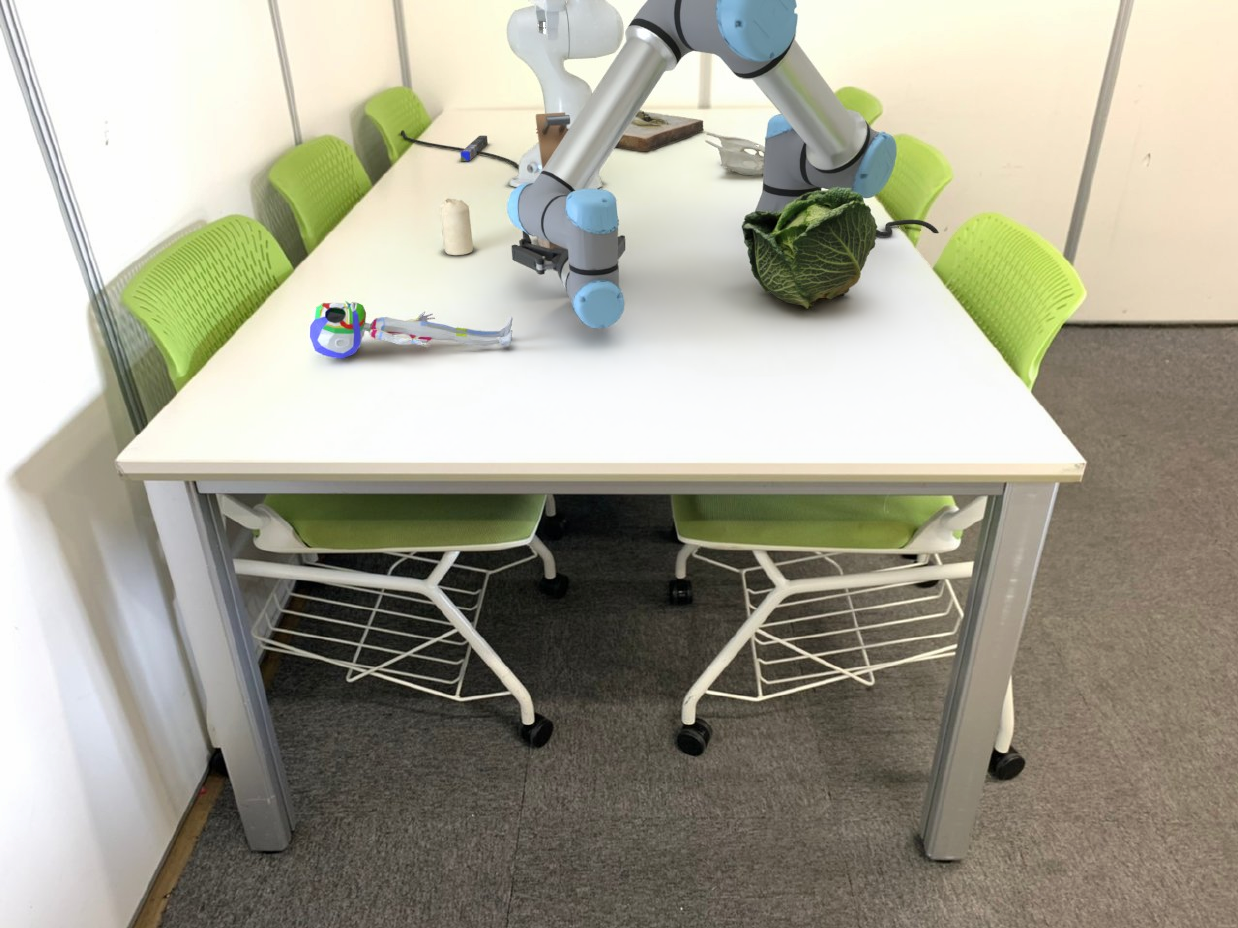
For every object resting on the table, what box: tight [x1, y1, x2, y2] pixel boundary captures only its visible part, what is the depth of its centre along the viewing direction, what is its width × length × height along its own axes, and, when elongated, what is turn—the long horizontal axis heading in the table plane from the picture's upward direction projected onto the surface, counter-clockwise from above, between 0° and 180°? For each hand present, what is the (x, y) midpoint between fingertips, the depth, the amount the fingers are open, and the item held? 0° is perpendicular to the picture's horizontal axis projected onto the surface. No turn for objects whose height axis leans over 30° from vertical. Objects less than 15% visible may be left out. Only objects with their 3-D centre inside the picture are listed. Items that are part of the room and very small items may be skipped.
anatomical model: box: [705, 131, 765, 176], centre depth 220 cm, size 15×9×25 cm
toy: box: [307, 300, 513, 360], centre depth 136 cm, size 10×8×30 cm
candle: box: [439, 198, 474, 256], centre depth 173 cm, size 6×6×10 cm
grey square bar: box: [460, 135, 489, 162], centre depth 244 cm, size 2×2×20 cm
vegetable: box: [741, 187, 878, 310], centre depth 148 cm, size 20×19×20 cm
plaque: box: [615, 109, 705, 152], centre depth 257 cm, size 30×7×30 cm
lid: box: [535, 112, 570, 170], centre depth 158 cm, size 17×5×9 cm
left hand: (547, 36), depth 153 cm, fingers open, 8 cm apart
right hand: (561, 234), depth 164 cm, fingers open, 13 cm apart
